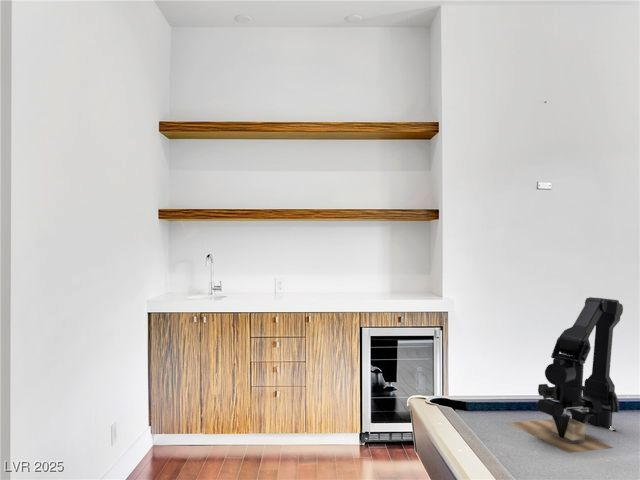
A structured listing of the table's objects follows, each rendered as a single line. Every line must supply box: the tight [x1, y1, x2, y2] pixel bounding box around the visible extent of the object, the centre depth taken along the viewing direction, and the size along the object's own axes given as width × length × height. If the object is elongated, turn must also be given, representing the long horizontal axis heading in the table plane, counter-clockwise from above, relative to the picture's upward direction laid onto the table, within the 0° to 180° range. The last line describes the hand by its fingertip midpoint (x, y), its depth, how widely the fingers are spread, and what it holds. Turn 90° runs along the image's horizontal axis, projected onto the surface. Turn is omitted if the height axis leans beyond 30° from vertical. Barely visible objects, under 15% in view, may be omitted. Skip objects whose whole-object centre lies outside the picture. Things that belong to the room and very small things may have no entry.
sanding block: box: [552, 417, 586, 444], centre depth 140 cm, size 4×7×5 cm, turn 21°
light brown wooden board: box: [508, 419, 614, 454], centre depth 143 cm, size 16×22×1 cm
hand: (567, 436), depth 140 cm, fingers closed on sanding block, 4 cm apart
